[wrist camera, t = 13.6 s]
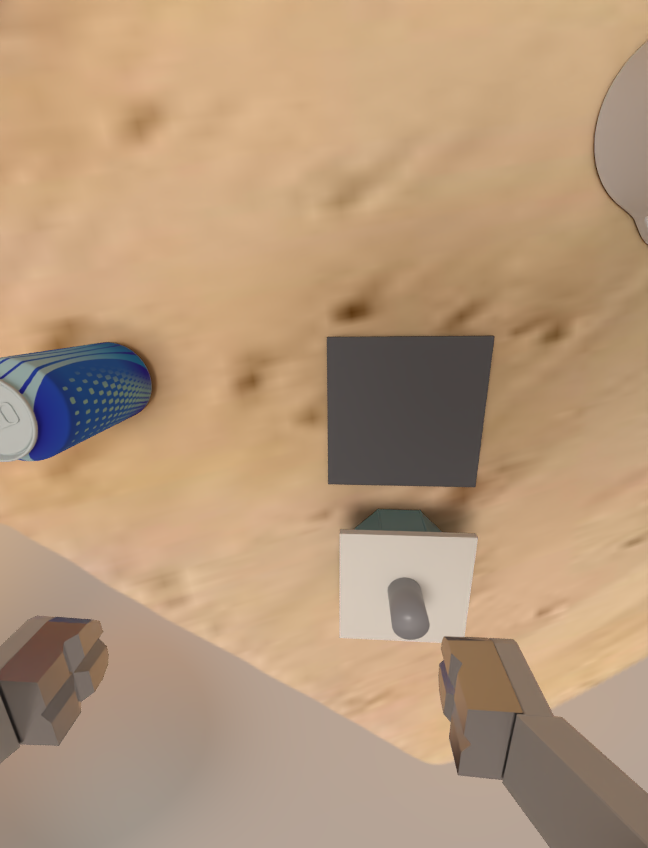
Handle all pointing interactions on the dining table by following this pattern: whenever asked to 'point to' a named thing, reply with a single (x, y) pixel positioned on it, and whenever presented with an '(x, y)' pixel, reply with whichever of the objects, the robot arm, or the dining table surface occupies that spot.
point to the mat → (406, 409)
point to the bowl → (398, 521)
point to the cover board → (404, 560)
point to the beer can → (67, 397)
